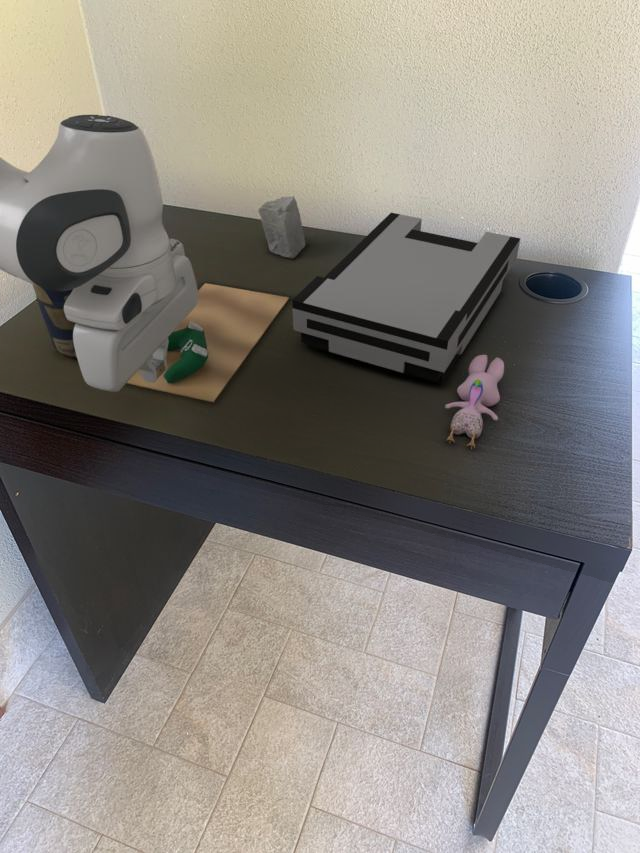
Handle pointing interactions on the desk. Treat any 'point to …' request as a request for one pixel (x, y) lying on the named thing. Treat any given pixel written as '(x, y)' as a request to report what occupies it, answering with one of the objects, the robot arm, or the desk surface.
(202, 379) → the cork mat
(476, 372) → the rabbit figure
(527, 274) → the desk surface
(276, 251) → the mineral specimen
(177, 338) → the gaming controller
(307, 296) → the game console
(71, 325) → the canister
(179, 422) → the desk surface
